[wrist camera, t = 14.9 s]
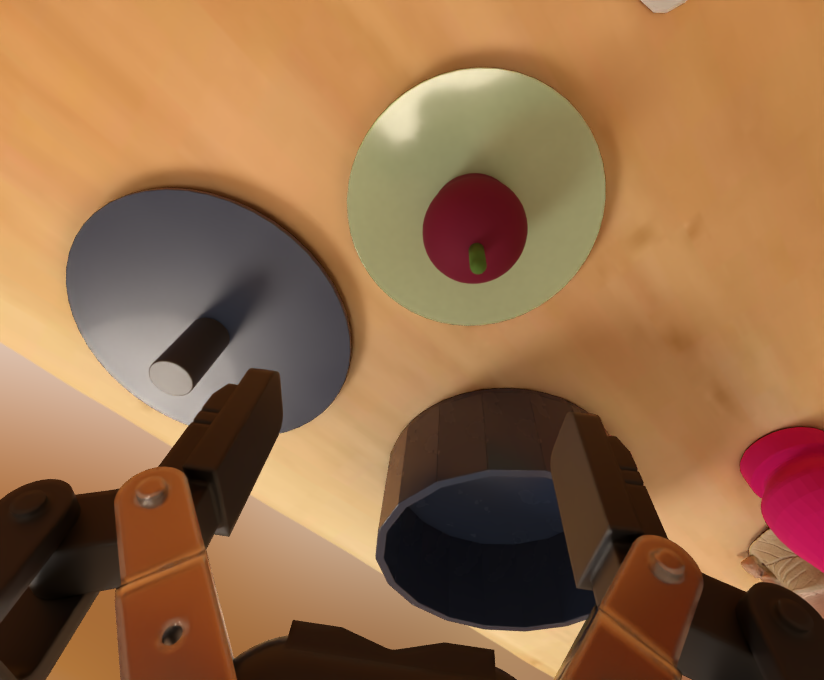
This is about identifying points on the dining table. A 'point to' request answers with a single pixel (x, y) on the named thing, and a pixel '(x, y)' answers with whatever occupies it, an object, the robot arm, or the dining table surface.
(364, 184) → the plate
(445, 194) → the beet
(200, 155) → the dining table surface
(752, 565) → the figurine
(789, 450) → the pepper mill
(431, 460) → the pan
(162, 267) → the pan lid
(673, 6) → the butter knife
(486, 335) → the dining table surface
